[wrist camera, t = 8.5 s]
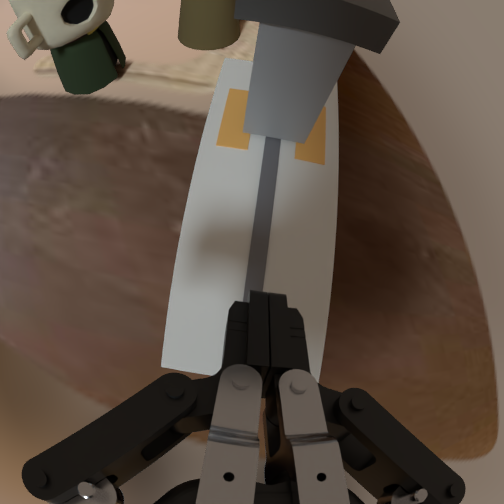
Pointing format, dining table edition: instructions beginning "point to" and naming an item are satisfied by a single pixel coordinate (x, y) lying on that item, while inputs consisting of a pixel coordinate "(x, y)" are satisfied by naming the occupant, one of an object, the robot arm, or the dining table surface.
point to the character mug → (70, 40)
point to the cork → (208, 24)
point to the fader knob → (305, 57)
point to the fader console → (253, 227)
